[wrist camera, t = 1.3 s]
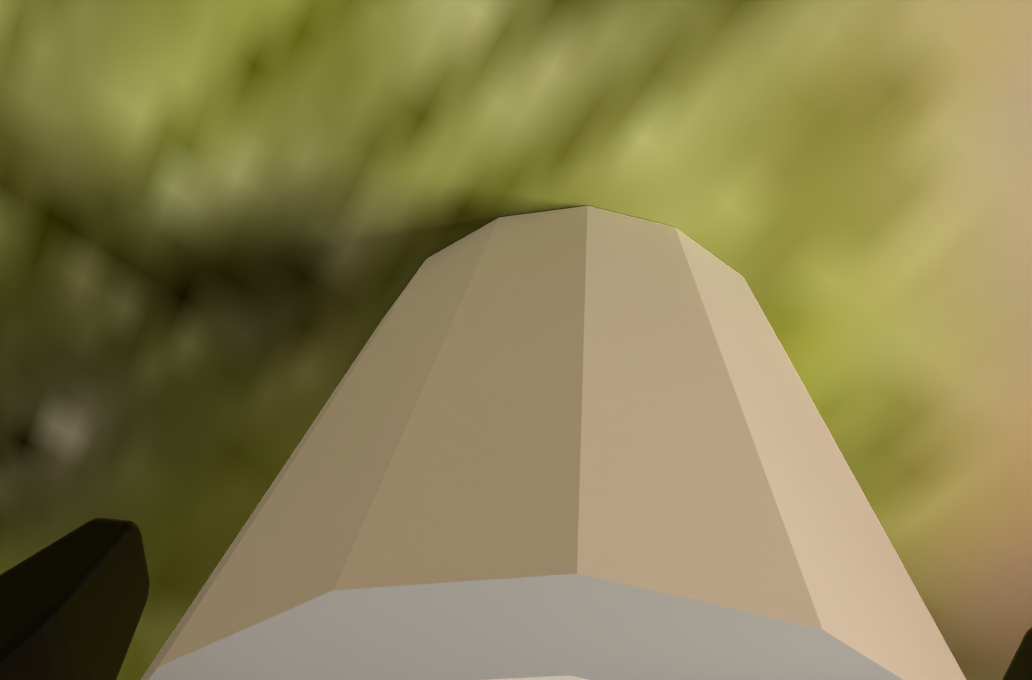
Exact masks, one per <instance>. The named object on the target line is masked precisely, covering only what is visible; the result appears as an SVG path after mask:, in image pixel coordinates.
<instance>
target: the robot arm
mask: <svg viewBox="0 0 1032 680" xmlns="http://www.w3.org/2000/svg"><path fill="white" fill-rule="evenodd" d="M148 592H149V575H148V570H147V564H146V559H145V553H144V547H143V542H142V536H141V532H140V529H139V527H138V526H137V524H135V523H134V522H131V521H126V520H117V519H108V518H96V519H93V520H91V521H89V522H87V523H85V524H84V525H82V526H80V527H79V528H77V529H75V530H74V531H72V532H71V533H69V534H67V535H66V536H64V537H62V538H61V539H59V540H57V541H56V542H54V543H52V544H51V545H49V546H47V547H46V548H44V549H42V550H41V551H39V552H37V553H36V554H34V555H33V556H31V557H29V558H28V559H26V560H24V561H23V562H21V563H19V564H18V565H16V566H14V567H13V568H11V569H9V570H8V571H6V572H4V573H3V574H1V575H0V680H116V679H117V676H118V674H119V671H120V669H121V666H122V664H123V661H124V658H125V656H126V653H127V651H128V648H129V646H130V643H131V640H132V638H133V635H134V633H135V630H136V628H137V625H138V622H139V620H140V617H141V615H142V612H143V609H144V607H145V604H146V601H147V597H148ZM1003 680H1032V628H1030V629H1029V630H1028V631H1027V632H1026V634H1025V636H1024V638H1023V640H1022V642H1021V644H1020V646H1019V648H1018V650H1017V652H1016V654H1015V656H1014V658H1013V660H1012V662H1011V664H1010V666H1009V668H1008V670H1007V672H1006V674H1005V676H1004V679H1003Z"/></svg>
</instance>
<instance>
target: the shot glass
mask: <svg viewBox="0 0 1032 680" xmlns="http://www.w3.org/2000/svg"><path fill="white" fill-rule="evenodd" d="M140 680H966V678H965V676H964V674H963V672H962V671H961V669H960V667H959V665H958V663H957V662H956V660H955V658H954V656H953V654H952V653H951V651H950V649H949V647H948V645H947V643H946V642H945V640H944V638H943V636H942V634H941V633H940V631H939V629H938V627H937V625H936V624H935V622H934V620H933V618H932V616H931V615H930V613H929V611H928V609H927V607H926V605H925V604H924V602H923V600H922V598H921V596H920V595H919V593H918V591H917V589H916V587H915V586H914V584H913V582H912V580H911V578H910V577H909V575H908V573H907V571H906V569H905V567H904V566H903V564H902V562H901V560H900V558H899V557H898V555H897V553H896V551H895V549H894V548H893V546H892V544H891V542H890V540H889V539H888V537H887V535H886V533H885V531H884V529H883V528H882V526H881V524H880V522H879V520H878V519H877V517H876V515H875V513H874V511H873V510H872V508H871V506H870V504H869V502H868V501H867V499H866V497H865V495H864V493H863V491H862V490H861V488H860V486H859V484H858V482H857V481H856V479H855V477H854V475H853V473H852V472H851V470H850V468H849V466H848V464H847V463H846V461H845V459H844V457H843V455H842V453H841V452H840V450H839V448H838V446H837V444H836V443H835V441H834V439H833V437H832V435H831V434H830V432H829V430H828V428H827V426H826V425H825V423H824V421H823V419H822V417H821V415H820V414H819V412H818V410H817V408H816V406H815V405H814V403H813V401H812V399H811V397H810V396H809V394H808V392H807V390H806V388H805V387H804V385H803V383H802V381H801V379H800V377H799V376H798V374H797V372H796V370H795V368H794V367H793V365H792V363H791V361H790V359H789V358H788V356H787V354H786V352H785V350H784V349H783V347H782V345H781V343H780V341H779V340H778V338H777V336H776V334H775V332H774V331H773V329H772V327H771V325H770V323H769V322H768V320H767V318H766V316H765V314H764V313H763V311H762V309H761V307H760V306H759V304H758V302H757V300H756V298H755V297H754V295H753V293H752V291H751V289H750V288H749V286H748V284H747V282H746V280H745V279H744V277H743V276H742V275H740V274H739V273H738V272H736V271H735V270H733V269H732V268H731V267H729V266H728V265H727V264H725V263H724V262H722V261H721V260H720V259H718V258H717V257H716V256H714V255H713V254H711V253H710V252H709V251H707V250H706V249H705V248H703V247H702V246H700V245H699V244H698V243H696V242H695V241H693V240H692V239H691V238H689V237H688V236H687V235H685V234H684V233H682V232H681V231H680V230H678V229H677V228H676V227H673V226H668V225H664V224H660V223H656V222H652V221H648V220H644V219H640V218H636V217H632V216H627V215H623V214H619V213H615V212H611V211H607V210H603V209H599V208H595V207H591V206H582V207H575V208H567V209H559V210H552V211H544V212H537V213H529V214H521V215H514V216H506V217H499V218H497V219H495V220H493V221H492V222H490V223H488V224H486V225H485V226H483V227H481V228H479V229H478V230H476V231H474V232H472V233H471V234H469V235H467V236H465V237H463V238H462V239H460V240H458V241H456V242H455V243H453V244H451V245H449V246H448V247H446V248H444V249H442V250H441V251H439V252H437V253H435V254H434V255H432V256H430V257H428V258H427V259H426V260H425V261H424V263H423V264H422V265H421V267H420V268H419V269H418V271H417V272H416V274H415V275H414V276H413V278H412V279H411V280H410V282H409V283H408V285H407V286H406V287H405V289H404V290H403V291H402V293H401V294H400V296H399V297H398V298H397V300H396V301H395V302H394V304H393V305H392V306H391V308H390V309H389V311H388V312H387V313H386V315H385V316H384V317H383V319H382V320H381V322H380V323H379V325H378V326H377V328H376V329H375V331H374V332H373V334H372V335H371V337H370V338H369V340H368V341H367V343H366V344H365V346H364V347H363V349H362V350H361V352H360V353H359V355H358V356H357V358H356V359H355V361H354V362H353V364H352V365H351V367H350V368H349V369H348V371H347V372H346V374H345V375H344V377H343V378H342V380H341V381H340V383H339V384H338V386H337V387H336V389H335V390H334V392H333V393H332V395H331V396H330V398H329V399H328V401H327V402H326V404H325V405H324V407H323V408H322V410H321V411H320V413H319V414H318V416H317V417H316V419H315V420H314V422H313V423H312V425H311V426H310V428H309V429H308V431H307V432H306V434H305V435H304V437H303V438H302V440H301V441H300V443H299V444H298V445H297V447H296V448H295V450H294V451H293V453H292V454H291V456H290V457H289V459H288V460H287V462H286V463H285V465H284V466H283V468H282V469H281V471H280V472H279V474H278V475H277V477H276V478H275V480H274V481H273V483H272V484H271V486H270V487H269V489H268V490H267V492H266V493H265V495H264V496H263V498H262V499H261V501H260V502H259V504H258V505H257V507H256V508H255V510H254V511H253V513H252V514H251V516H250V517H249V519H248V520H247V521H246V523H245V524H244V526H243V527H242V529H241V530H240V532H239V533H238V535H237V536H236V538H235V539H234V541H233V542H232V544H231V545H230V547H229V548H228V550H227V551H226V553H225V554H224V556H223V557H222V559H221V560H220V562H219V563H218V565H217V566H216V568H215V569H214V571H213V572H212V574H211V575H210V577H209V578H208V580H207V581H206V583H205V584H204V586H203V587H202V589H201V590H200V592H199V593H198V595H197V596H196V597H195V599H194V600H193V602H192V603H191V605H190V606H189V608H188V609H187V611H186V612H185V614H184V615H183V617H182V618H181V620H180V621H179V623H178V624H177V626H176V627H175V629H174V630H173V632H172V633H171V635H170V636H169V638H168V639H167V641H166V642H165V644H164V645H163V647H162V648H161V650H160V651H159V653H158V654H157V656H156V657H155V659H154V660H153V662H152V663H151V665H150V666H149V668H148V669H147V671H146V672H145V673H144V675H143V676H142V678H141V679H140Z"/></svg>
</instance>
